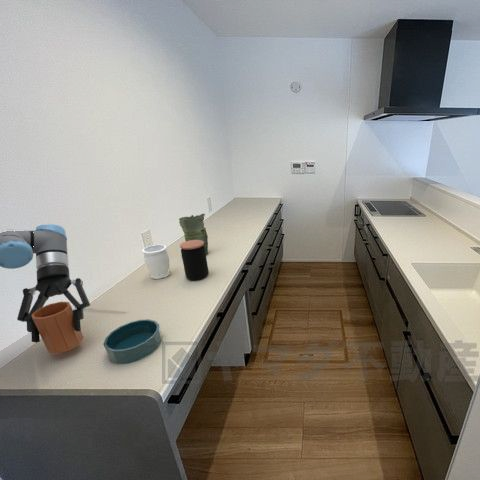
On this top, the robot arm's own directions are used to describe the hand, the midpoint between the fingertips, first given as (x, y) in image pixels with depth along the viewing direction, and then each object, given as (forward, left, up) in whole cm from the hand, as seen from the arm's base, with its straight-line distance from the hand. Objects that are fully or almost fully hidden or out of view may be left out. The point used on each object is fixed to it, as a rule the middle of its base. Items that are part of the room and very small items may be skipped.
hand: (57, 335), depth 80 cm
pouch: (+66, +46, -9) cm, 81 cm away
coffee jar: (+53, +21, -9) cm, 58 cm away
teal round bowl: (+16, -11, -9) cm, 21 cm away
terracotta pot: (+1, +3, -6) cm, 7 cm away
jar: (+41, +36, -9) cm, 55 cm away
